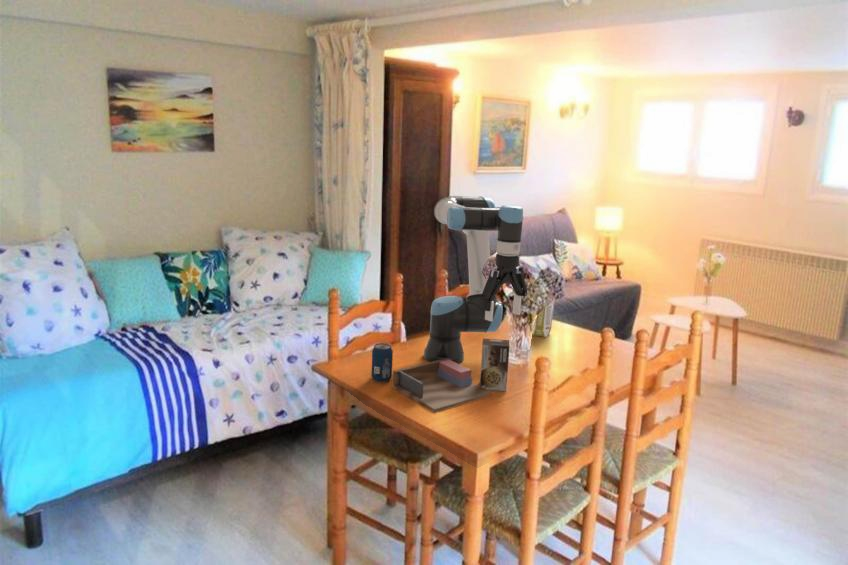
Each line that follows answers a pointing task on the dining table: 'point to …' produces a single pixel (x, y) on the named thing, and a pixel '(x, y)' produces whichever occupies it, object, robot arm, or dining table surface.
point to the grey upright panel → (410, 384)
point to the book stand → (438, 388)
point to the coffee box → (494, 364)
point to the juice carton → (544, 321)
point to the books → (455, 373)
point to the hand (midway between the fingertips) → (502, 317)
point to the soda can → (382, 362)
